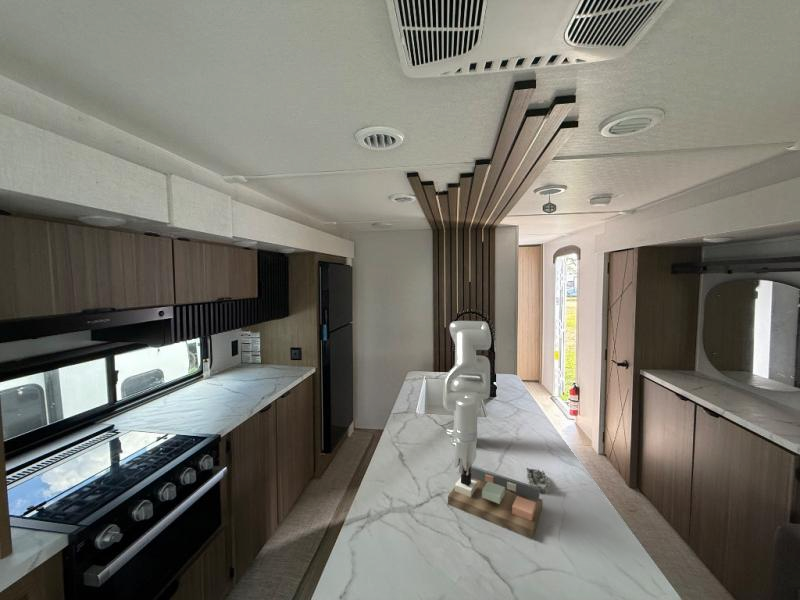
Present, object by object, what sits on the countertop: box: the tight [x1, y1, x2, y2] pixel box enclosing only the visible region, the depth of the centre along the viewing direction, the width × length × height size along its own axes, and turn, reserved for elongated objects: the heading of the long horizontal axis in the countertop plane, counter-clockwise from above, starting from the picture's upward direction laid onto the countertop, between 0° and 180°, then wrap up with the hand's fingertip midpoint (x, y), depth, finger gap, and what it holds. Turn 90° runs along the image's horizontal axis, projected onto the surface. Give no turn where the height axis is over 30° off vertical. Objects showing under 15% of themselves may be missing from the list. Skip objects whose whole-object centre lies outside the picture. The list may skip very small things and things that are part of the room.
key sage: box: [482, 481, 505, 504], centre depth 111 cm, size 6×6×2 cm
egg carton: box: [526, 467, 552, 494], centre depth 124 cm, size 11×8×4 cm
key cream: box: [454, 476, 477, 497], centre depth 117 cm, size 6×6×2 cm
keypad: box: [447, 465, 544, 540], centre depth 112 cm, size 28×16×7 cm, turn 56°
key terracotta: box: [512, 496, 536, 521], centre depth 105 cm, size 6×6×2 cm
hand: (465, 483), depth 116 cm, fingers closed
